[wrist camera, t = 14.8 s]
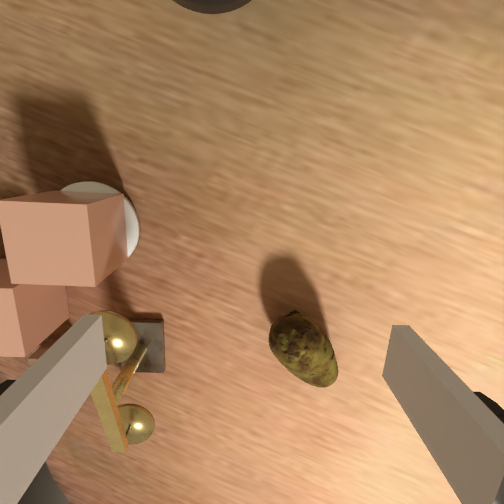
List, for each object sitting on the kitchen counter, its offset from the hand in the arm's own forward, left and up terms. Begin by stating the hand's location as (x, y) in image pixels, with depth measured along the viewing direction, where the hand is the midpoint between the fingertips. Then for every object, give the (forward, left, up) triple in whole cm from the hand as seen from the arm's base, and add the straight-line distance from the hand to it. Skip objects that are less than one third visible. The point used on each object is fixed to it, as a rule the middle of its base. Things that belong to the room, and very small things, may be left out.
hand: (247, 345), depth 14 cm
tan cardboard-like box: (+10, -28, -27) cm, 40 cm away
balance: (+18, -14, -27) cm, 35 cm away
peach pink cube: (+1, -19, -26) cm, 32 cm away
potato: (+16, +8, -27) cm, 32 cm away
